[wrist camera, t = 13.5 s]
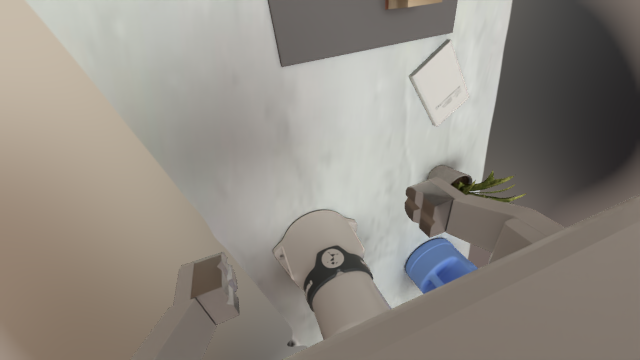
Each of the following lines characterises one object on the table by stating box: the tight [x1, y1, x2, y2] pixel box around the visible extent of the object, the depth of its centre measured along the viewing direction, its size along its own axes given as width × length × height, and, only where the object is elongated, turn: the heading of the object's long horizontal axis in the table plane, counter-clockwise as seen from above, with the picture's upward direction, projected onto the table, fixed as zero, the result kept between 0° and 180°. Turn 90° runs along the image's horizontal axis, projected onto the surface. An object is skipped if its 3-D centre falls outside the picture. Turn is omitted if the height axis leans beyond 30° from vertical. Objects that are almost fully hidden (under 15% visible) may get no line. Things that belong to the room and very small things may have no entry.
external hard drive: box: [409, 39, 469, 126], centre depth 44 cm, size 2×8×12 cm
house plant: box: [428, 165, 525, 204], centre depth 50 cm, size 14×14×16 cm
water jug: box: [406, 239, 478, 294], centre depth 62 cm, size 16×16×28 cm
